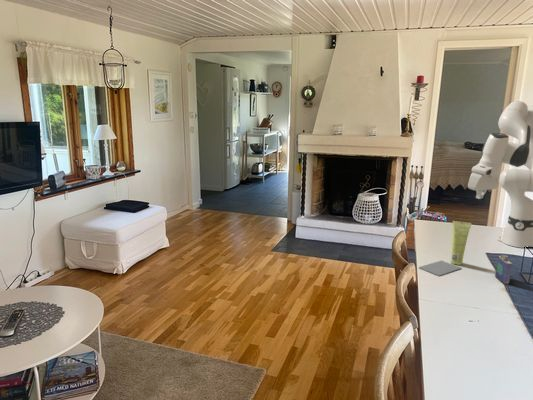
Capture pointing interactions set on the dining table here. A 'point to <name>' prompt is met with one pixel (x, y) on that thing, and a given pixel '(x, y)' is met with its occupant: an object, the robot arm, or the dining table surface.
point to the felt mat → (440, 268)
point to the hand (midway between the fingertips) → (478, 198)
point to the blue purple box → (503, 269)
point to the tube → (459, 241)
